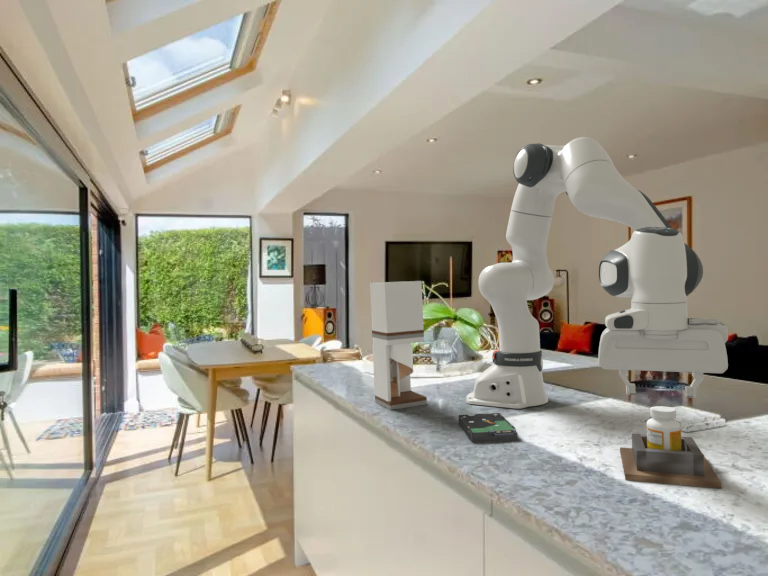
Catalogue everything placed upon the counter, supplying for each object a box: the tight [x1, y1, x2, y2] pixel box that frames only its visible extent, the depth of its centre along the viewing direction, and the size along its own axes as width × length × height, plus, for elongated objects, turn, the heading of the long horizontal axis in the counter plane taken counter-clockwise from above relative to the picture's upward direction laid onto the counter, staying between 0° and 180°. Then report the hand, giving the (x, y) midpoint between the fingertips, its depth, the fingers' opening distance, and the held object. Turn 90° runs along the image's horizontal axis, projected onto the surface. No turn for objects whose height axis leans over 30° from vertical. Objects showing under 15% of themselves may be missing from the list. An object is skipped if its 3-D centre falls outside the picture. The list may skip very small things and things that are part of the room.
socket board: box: [619, 432, 723, 489], centre depth 91 cm, size 14×14×4 cm
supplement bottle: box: [646, 405, 682, 451], centre depth 91 cm, size 5×5×10 cm
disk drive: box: [458, 412, 519, 444], centre depth 118 cm, size 10×3×15 cm
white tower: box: [369, 280, 428, 411], centre depth 148 cm, size 11×11×35 cm
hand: (660, 395), depth 91 cm, fingers open, 8 cm apart
